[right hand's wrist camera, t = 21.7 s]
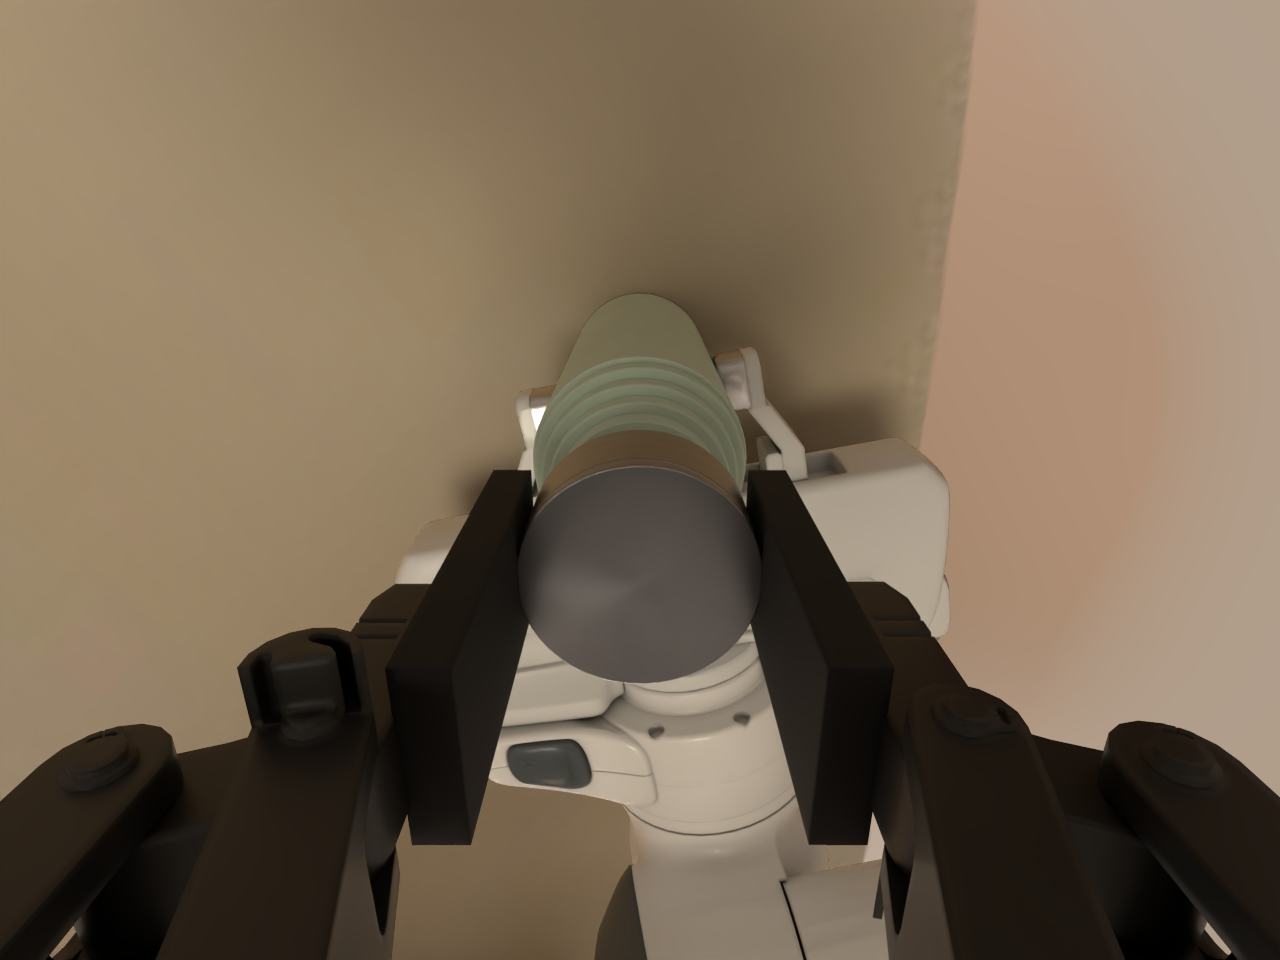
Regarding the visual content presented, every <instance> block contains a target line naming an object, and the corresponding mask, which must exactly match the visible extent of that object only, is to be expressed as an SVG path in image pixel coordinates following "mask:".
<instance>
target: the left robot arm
mask: <svg viewBox="0 0 1280 960" xmlns="http://www.w3.org/2000/svg"><path fill="white" fill-rule="evenodd" d="M712 361H713V364H714V366H715V368H716V371H717V373H718V375H719V377H720V379H721V381H722V384H723V386H724V388H725V390H726V392H727V394H728V397H729V399H730V401H731V403H732V405H733V407H734V410H735V411H736V410H743V409H747V410H748V411H749V413H750V414H751V415H752V416H753V417H754V419H755V420H756V421H757V422H758V423H759V425H760V426H761V427H762V428H763V429H764V431H765V432H766V433H767V434H768V435H764V436H759V437H758V438H757V439H756V442H757V449H758V457H759V462H755V463H749V464H746V471H745V476H744V482H743V486H742V490H741V495H742V497H743V500H744V503H745V506H746V499H747V482H748V470H786V471H787V473H788V475H789V477H790V479H791V480H792V482H793V484H794V486H795V488H796V490H797V491H798V493H799V495H800V497H801V499H802V501H803V502H804V504H805V506H806V508H807V510H808V511H809V513H810V515H811V517H812V519H813V521H814V522H815V524H816V526H817V528H818V530H819V531H820V533H821V535H822V537H823V539H824V541H825V542H826V544H827V546H828V548H829V550H830V551H831V553H832V555H833V557H834V559H835V561H836V562H837V564H838V566H839V568H840V570H841V571H842V573H843V575H844V577H845V579H846V581H847V582H885V583H887V584H888V585H890V586H891V587H893V588H894V589H896V590H897V591H899V592H900V593H901V594H903V595H904V596H906V597H907V598H908V599H909V600H910V602H911V603H912V605H913V606H914V608H915V609H916V611H917V612H918V614H919V615H920V617H921V621H924V622H925V624H926V625H927V627H928V628H929V630H930V631H931V636H932V637H935V639H936V640H938V639H939V638H940V637H941V636H943V635H944V634H946V632H947V630H948V628H949V624H950V600H949V586H948V582H947V579H946V576H945V575H944V570H945V563H946V554H947V545H948V532H949V508H950V497H949V487H948V484H947V481H946V479H945V478H944V476H943V474H942V473H941V472H940V470H939V469H938V468H937V467H936V466H935V465H934V464H933V463H932V462H931V461H930V460H929V459H928V458H927V457H926V456H925V455H923V454H922V453H921V452H919V451H918V450H917V449H915V448H914V447H912V446H911V445H909V444H908V443H906V442H905V441H903V440H901V439H898V438H887V439H881V440H876V441H870V442H865V443H859V444H854V445H848V446H843V447H837V448H832V449H826V450H821V451H815V452H810V453H805V449H804V446H803V445H802V443H801V442H800V440H799V439H798V437H797V436H796V434H795V433H794V431H793V430H792V429H791V427H790V426H789V425H788V424H787V423H786V421H785V420H784V419H783V418H782V417H781V415H780V414H779V413H778V412H777V410H776V409H775V408H774V407H773V406H772V404H771V403H770V402H769V401H768V400H767V398H766V397H765V394H764V387H763V380H762V372H761V365H760V361H759V357H758V353H757V351H756V350H755V349H754V348H753V346H752V347H747V348H742V349H736V350H731V351H726V352H722V353H717V354H712ZM555 387H556V385H552V386H546V387H540V388H535V389H528V390H524V391H520V392H519V394H518V396H517V397H516V412H517V416H518V420H519V424H520V427H521V431H522V435H523V439H524V442H525V448H524V450H523V453H522V457H521V460H520V463H519V467H518V470H531V473H532V490H533V507H534V504H535V501H536V498H537V496H538V493H539V492H538V489H537V484H536V478H535V473H534V467H533V449H534V440H535V436H536V432H537V428H538V425H539V423H540V420H541V418H542V415H543V413H544V411H545V409H546V406H547V404H548V402H549V400H550V398H551V396H552V393H553V391H554V389H555ZM468 516H469V514H468V515H463V516H457V517H452V518H446V519H440V520H436V521H432V522H430V523H428V524H427V525H425V526H424V527H423V528H422V530H421V531H420V532H419V534H418V535H417V536H416V538H415V539H414V541H413V542H412V543H411V545H410V546H409V548H408V550H407V551H406V553H405V555H404V557H403V559H402V561H401V563H400V565H399V568H398V571H397V574H396V580H395V584H431V583H432V582H433V580H434V578H435V576H436V574H437V572H438V571H439V569H440V567H441V565H442V563H443V562H444V560H445V558H446V556H447V554H448V552H449V551H450V549H451V547H452V545H453V543H454V541H455V540H456V538H457V536H458V534H459V532H460V531H461V529H462V527H463V525H464V523H465V521H466V520H467V518H468ZM489 779H490V780H492V781H494V782H496V783H499V784H503V785H509V786H518V787H529V788H539V789H548V790H556V791H564V792H570V793H577V794H583V795H588V796H593V797H597V798H602V799H606V800H610V801H614V802H617V803H621V804H622V805H623V807H624V808H625V810H626V811H627V813H628V815H629V817H630V819H631V821H630V830H629V843H630V850H631V856H632V861H633V866H631V865H629V867H628V868H627V869H626V871H625V872H624V874H623V875H622V877H621V879H620V881H619V883H618V885H617V887H616V889H615V891H614V893H613V896H612V898H611V901H610V903H609V905H608V908H607V910H606V913H605V915H604V918H603V920H602V923H601V925H600V928H599V932H598V937H597V944H596V951H595V960H889V956H888V946H887V937H886V927H885V917H884V911H883V916H882V920H881V919H876V918H873V911H874V905H875V898H876V892H877V886H878V880H879V874H880V868H881V862H882V859H879V860H874V861H869V862H864V863H859V864H854V865H849V866H844V867H839V868H834V869H829V865H828V852H827V845H809V844H808V840H807V837H806V833H805V829H804V825H803V821H802V818H801V814H800V810H799V806H798V802H797V799H796V795H795V791H794V787H793V783H792V780H791V776H790V772H789V768H788V764H787V761H786V757H785V753H784V749H783V745H782V742H781V738H780V734H779V730H778V726H777V723H776V719H775V715H774V711H773V707H772V704H771V700H770V696H769V692H768V688H767V685H766V681H765V677H764V673H763V669H762V666H761V662H760V658H759V654H758V651H757V647H756V643H755V639H754V635H753V632H752V628H751V624H750V625H749V626H748V628H747V630H746V631H745V633H744V634H743V635H742V637H741V638H740V639H739V640H738V642H737V643H736V644H735V645H734V646H733V647H732V648H731V649H730V650H729V651H728V652H726V653H725V654H724V655H723V656H721V657H720V658H719V659H718V660H716V661H715V662H713V663H711V664H710V665H708V666H707V667H705V668H703V669H701V670H699V671H697V672H694V673H692V674H690V675H687V676H684V677H681V678H678V679H674V680H670V681H665V682H659V683H649V684H629V683H621V682H614V681H610V680H605V679H601V678H598V677H595V676H592V675H590V674H587V673H585V672H583V671H581V670H579V669H577V668H574V667H573V666H571V665H570V664H568V663H566V662H565V661H563V660H562V659H560V658H559V657H558V656H557V655H555V654H554V653H553V652H552V651H551V650H549V648H548V647H547V646H546V645H545V644H544V643H543V642H542V641H541V640H540V639H539V637H538V636H537V635H536V633H535V632H534V631H533V629H532V628H531V626H530V624H529V626H528V630H527V634H526V637H525V641H524V645H523V649H522V653H521V656H520V660H519V664H518V668H517V672H516V675H515V679H514V683H513V687H512V691H511V694H510V698H509V702H508V706H507V710H506V713H505V717H504V721H503V725H502V729H501V732H500V736H499V740H498V744H497V748H496V751H495V755H494V759H493V763H492V767H491V770H490V774H489Z"/></svg>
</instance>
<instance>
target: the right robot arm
mask: <svg viewBox="0 0 1280 960" xmlns="http://www.w3.org/2000/svg"><path fill="white" fill-rule="evenodd" d="M746 508H747V511H748V514H749V517H750V520H751V523H752V526H753V528H754V531H755V534H756V537H757V540H758V543H759V546H760V550H761V554H762V575H761V589H760V602H759V605H758V608H757V610H756V613H755V616H754V618H753V619H752V621H751V623H750V624H751V628H752V632H753V635H754V639H755V643H756V647H757V651H758V654H759V658H760V662H761V666H762V669H763V673H764V677H765V681H766V685H767V688H768V692H769V696H770V700H771V704H772V707H773V711H774V715H775V719H776V723H777V726H778V730H779V734H780V738H781V742H782V745H783V749H784V753H785V757H786V761H787V764H788V768H789V772H790V776H791V780H792V783H793V787H794V791H795V795H796V799H797V802H798V806H799V810H800V814H801V818H802V821H803V825H804V829H805V833H806V837H807V840H808V844H809V845H867V844H868V838H869V831H870V825H871V818H872V812H873V814H874V816H875V819H876V821H877V824H878V826H879V829H880V832H881V834H882V837H883V840H884V842H885V844H884V851H883V857H882V862H881V868H880V874H879V880H878V886H877V892H876V898H875V905H874V911H873V918H876V919H881V920H882V916H883V911H884V917H885V927H886V937H887V946H888V956H889V960H1280V797H1279V796H1278V795H1277V794H1276V793H1274V792H1273V791H1272V790H1271V789H1270V788H1269V787H1268V786H1267V785H1266V784H1264V783H1263V782H1262V781H1261V780H1260V779H1259V778H1258V777H1257V776H1256V775H1255V774H1253V773H1252V772H1251V771H1250V770H1249V769H1248V768H1247V767H1246V766H1245V765H1243V764H1242V763H1241V762H1240V761H1239V760H1237V759H1236V758H1235V757H1233V756H1232V755H1230V754H1229V753H1228V752H1226V751H1225V750H1224V749H1222V748H1221V747H1219V746H1218V745H1216V744H1214V743H1212V742H1210V741H1208V740H1206V739H1204V738H1202V737H1200V736H1198V735H1196V734H1194V733H1192V732H1190V731H1187V730H1184V729H1181V728H1176V727H1175V726H1170V725H1166V724H1163V723H1154V722H1145V721H1134V722H1128V723H1122V724H1119V725H1118V726H1116V727H1115V728H1114V729H1113V730H1112V731H1110V732H1109V734H1108V737H1107V741H1106V744H1105V748H1104V751H1101V750H1096V749H1092V748H1087V747H1082V746H1077V745H1073V744H1068V743H1063V742H1059V741H1054V740H1050V739H1046V738H1043V737H1039V736H1036V735H1032V734H1031V732H1030V730H1029V728H1028V726H1027V725H1026V723H1025V722H1024V720H1023V719H1022V717H1021V716H1020V715H1019V713H1018V712H1017V711H1016V710H1014V709H1013V708H1012V707H1010V706H1009V705H1008V704H1006V703H1005V702H1004V701H1002V700H1001V699H999V698H997V697H995V696H993V695H991V694H988V693H986V692H984V691H982V690H980V689H976V688H972V687H968V686H967V684H966V683H965V681H964V680H963V678H962V677H961V675H960V674H959V672H958V671H957V670H956V668H955V667H954V665H953V664H952V662H951V661H950V659H949V658H948V656H947V655H946V653H945V652H944V650H943V649H942V647H941V646H940V645H939V643H938V642H937V640H936V639H935V637H932V636H931V631H930V630H929V628H928V627H927V625H926V624H925V622H924V621H921V617H920V615H919V614H918V612H917V611H916V609H915V608H914V606H913V605H912V603H911V602H910V600H909V599H908V598H907V597H906V596H904V595H903V594H901V593H900V592H899V591H897V590H896V589H894V588H893V587H891V586H890V585H888V584H887V583H885V582H847V581H846V579H845V577H844V575H843V573H842V571H841V570H840V568H839V566H838V564H837V562H836V561H835V559H834V557H833V555H832V553H831V551H830V550H829V548H828V546H827V544H826V542H825V541H824V539H823V537H822V535H821V533H820V531H819V530H818V528H817V526H816V524H815V522H814V521H813V519H812V517H811V515H810V513H809V511H808V510H807V508H806V506H805V504H804V502H803V501H802V499H801V497H800V495H799V493H798V491H797V490H796V488H795V486H794V484H793V482H792V480H791V479H790V477H789V475H788V473H787V471H786V470H748V482H747V499H746ZM532 509H533V490H532V473H531V470H494V471H493V472H492V474H491V476H490V478H489V480H488V481H487V483H486V485H485V487H484V489H483V491H482V492H481V494H480V496H479V498H478V500H477V501H476V503H475V505H474V507H473V509H472V511H471V512H470V514H469V516H468V518H467V520H466V521H465V523H464V525H463V527H462V529H461V531H460V532H459V534H458V536H457V538H456V540H455V541H454V543H453V545H452V547H451V549H450V551H449V552H448V554H447V556H446V558H445V560H444V562H443V563H442V565H441V567H440V569H439V571H438V572H437V574H436V576H435V578H434V580H433V582H432V583H431V584H395V585H393V586H392V587H390V588H389V589H388V590H386V591H385V592H383V593H382V594H380V595H379V596H377V597H376V598H375V599H373V600H372V601H371V603H370V604H369V606H368V607H367V609H366V610H365V611H364V613H363V614H362V616H361V617H360V619H359V623H356V625H355V626H354V628H353V629H352V631H351V632H349V631H345V630H341V629H337V628H311V629H306V630H301V631H296V632H291V633H288V634H285V635H283V636H280V637H278V638H275V639H273V640H270V641H268V642H266V643H264V644H263V645H261V646H260V647H258V648H257V649H255V650H254V651H252V652H251V653H249V654H248V655H247V656H246V658H245V659H244V660H243V661H242V662H241V664H240V665H239V666H238V667H237V669H238V673H239V677H240V682H241V686H242V690H243V694H244V698H245V702H246V706H247V710H248V714H249V718H250V722H251V726H252V729H251V731H250V734H249V736H248V738H244V739H241V740H237V741H233V742H230V743H226V744H221V745H216V746H212V747H207V748H203V749H198V750H193V751H189V752H184V753H179V754H177V753H176V750H175V746H174V743H173V740H172V736H171V735H170V734H169V733H167V732H166V731H165V730H164V729H163V728H161V727H157V726H152V725H146V724H137V725H127V726H118V727H115V728H111V729H107V730H105V731H100V732H97V733H94V734H91V735H89V736H87V737H85V738H83V739H81V740H79V741H77V742H75V743H73V744H71V745H69V746H67V747H65V748H63V749H61V750H60V751H59V752H57V753H56V754H55V755H53V756H52V757H51V758H49V759H48V760H46V761H45V762H44V763H42V764H41V765H40V766H39V767H38V768H36V769H35V770H34V771H33V772H32V773H31V774H30V775H29V776H28V777H27V778H25V779H24V780H23V781H22V782H21V783H20V784H19V785H18V786H17V787H16V788H15V789H13V790H12V791H11V792H10V793H9V794H8V795H7V796H6V797H5V798H4V799H2V800H1V801H0V960H391V958H392V948H393V938H394V929H395V919H396V909H397V900H398V890H399V880H400V870H399V863H398V856H397V850H396V842H397V839H398V837H399V834H400V832H401V829H402V826H403V824H404V821H405V818H406V816H407V815H408V821H409V828H410V834H411V841H412V845H471V842H472V839H473V835H474V831H475V827H476V823H477V820H478V816H479V812H480V808H481V804H482V801H483V797H484V793H485V789H486V785H487V782H488V778H489V774H490V770H491V767H492V763H493V759H494V755H495V751H496V748H497V744H498V740H499V736H500V732H501V729H502V725H503V721H504V717H505V713H506V710H507V706H508V702H509V698H510V694H511V691H512V687H513V683H514V679H515V675H516V672H517V668H518V664H519V660H520V656H521V653H522V649H523V645H524V641H525V637H526V634H527V630H528V626H529V622H528V620H527V619H526V617H525V615H524V612H523V610H522V607H521V604H520V595H519V581H518V566H517V555H518V551H519V547H520V543H521V540H522V538H523V535H524V532H525V529H526V526H527V523H528V521H529V518H530V515H531V512H532ZM1207 922H1208V923H1209V924H1210V926H1211V927H1212V928H1213V929H1214V930H1215V932H1216V933H1217V934H1218V935H1219V937H1220V938H1221V939H1222V940H1223V942H1224V943H1225V944H1226V945H1227V947H1228V948H1229V949H1230V950H1231V951H1232V952H1231V954H1230V955H1227V954H1226V953H1225V952H1224V951H1223V950H1222V949H1221V948H1220V947H1219V946H1218V945H1217V944H1216V943H1215V942H1214V941H1213V939H1212V938H1211V937H1210V936H1209V934H1208V933H1207V932H1206V931H1205V926H1206V924H1207ZM73 925H74V928H75V930H76V933H75V934H74V935H73V937H72V938H71V939H70V940H69V942H68V943H67V944H66V946H65V947H64V948H63V949H61V950H60V951H59V952H58V953H57V954H56V955H55V956H54V957H53V958H51V957H50V956H49V955H50V954H51V952H52V951H53V950H54V949H55V947H56V946H57V945H58V944H59V943H60V941H61V940H62V939H63V938H64V936H65V935H66V934H67V933H68V931H69V930H70V929H71V928H72V926H73Z"/></svg>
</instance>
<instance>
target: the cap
mask: <svg viewBox="0 0 1280 960" xmlns="http://www.w3.org/2000/svg"><path fill="white" fill-rule="evenodd" d="M517 566H518V581H519V595H520V604H521V607H522V610H523V612H524V615H525V617H526V619H527V620H528V622H529V624H530V626H531V628H532V629H533V631H534V632H535V633H536V635H537V636H538V637H539V639H540V640H541V641H542V642H543V643H544V644H545V645H546V646H547V647H548V648H549V650H551V651H552V652H553V653H554V654H555V655H557V656H558V657H559V658H560V659H562V660H563V661H565V662H566V663H568V664H570V665H571V666H573V667H574V668H577V669H579V670H581V671H583V672H585V673H587V674H590V675H592V676H595V677H598V678H601V679H605V680H610V681H614V682H621V683H629V684H649V683H659V682H665V681H670V680H674V679H678V678H681V677H684V676H687V675H690V674H692V673H694V672H697V671H699V670H701V669H703V668H705V667H707V666H708V665H710V664H711V663H713V662H715V661H716V660H718V659H719V658H720V657H721V656H723V655H724V654H725V653H726V652H728V651H729V650H730V649H731V648H732V647H733V646H734V645H735V644H736V643H737V642H738V640H739V639H740V638H741V637H742V635H743V634H744V633H745V631H746V630H747V628H748V626H749V625H750V623H751V621H752V619H753V618H754V616H755V613H756V610H757V608H758V605H759V602H760V589H761V575H762V554H761V550H760V546H759V543H758V540H757V537H756V534H755V531H754V528H753V526H752V523H751V520H750V517H749V514H748V511H747V508H746V506H745V503H744V500H743V497H742V495H741V492H740V490H739V488H738V486H737V484H736V482H735V481H734V479H733V477H732V476H731V475H730V473H729V472H728V471H727V469H726V468H725V467H724V466H723V465H722V464H721V463H720V462H719V461H718V460H717V459H716V458H715V457H714V456H713V455H711V454H710V453H709V452H707V451H706V450H705V449H704V448H702V447H700V446H698V445H697V444H695V443H693V442H691V441H689V440H686V439H684V438H682V437H679V436H676V435H673V434H669V433H665V432H660V431H652V430H628V431H619V432H615V433H611V434H607V435H603V436H601V437H598V438H595V439H593V440H590V441H588V442H587V443H585V444H583V445H581V446H579V447H577V448H576V449H575V450H573V451H572V452H571V453H569V454H568V455H566V456H565V457H564V458H563V459H562V460H561V461H560V462H559V463H558V464H557V465H556V466H555V467H554V469H553V470H552V471H551V472H550V474H549V475H548V476H547V478H546V480H545V481H544V483H543V485H542V487H541V488H540V491H539V493H538V496H537V498H536V501H535V504H534V507H533V509H532V512H531V515H530V518H529V521H528V523H527V526H526V529H525V532H524V535H523V538H522V540H521V543H520V547H519V551H518V555H517Z"/></svg>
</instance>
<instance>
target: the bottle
mask: <svg viewBox="0 0 1280 960" xmlns="http://www.w3.org/2000/svg"><path fill="white" fill-rule="evenodd" d="M628 430H652V431H660V432H665V433H669V434H673V435H676V436H679V437H682V438H684V439H686V440H689V441H691V442H693V443H695V444H697V445H698V446H700V447H702V448H704V449H705V450H706V451H707V452H709V453H710V454H711V455H713V456H714V457H715V458H716V459H717V460H718V461H719V462H720V463H721V464H722V465H723V466H724V467H725V468H726V469H727V471H728V472H729V473H730V475H731V476H732V477H733V479H734V481H735V482H736V484H737V486H738V488H739V490H740V492H741V490H742V486H743V482H744V476H745V471H746V459H747V456H746V443H745V438H744V433H743V429H742V427H741V424H740V421H739V418H738V416H737V414H736V412H735V410H734V407H733V405H732V403H731V401H730V399H729V397H728V394H727V392H726V390H725V388H724V386H723V384H722V381H721V379H720V377H719V375H718V373H717V371H716V368H715V366H714V364H713V362H712V360H711V358H710V355H709V353H708V351H707V349H706V347H705V345H704V342H703V340H702V338H701V336H700V334H699V332H698V330H697V328H696V326H695V324H694V323H693V321H692V320H691V318H690V317H689V316H688V315H687V314H686V313H685V312H684V311H683V310H682V309H681V308H680V307H679V306H677V305H676V304H674V303H673V302H671V301H669V300H667V299H665V298H662V297H659V296H656V295H651V294H628V295H624V296H620V297H618V298H615V299H613V300H611V301H609V302H607V303H605V304H604V305H603V306H601V307H600V308H599V309H597V310H596V311H595V312H594V313H593V314H592V315H591V317H590V318H589V319H588V321H587V322H586V324H585V325H584V327H583V329H582V331H581V333H580V335H579V337H578V340H577V342H576V344H575V346H574V348H573V350H572V353H571V355H570V357H569V359H568V361H567V363H566V365H565V368H564V370H563V372H562V374H561V376H560V378H559V381H558V383H557V385H556V387H555V389H554V391H553V393H552V396H551V398H550V400H549V402H548V404H547V406H546V409H545V411H544V413H543V415H542V418H541V420H540V423H539V425H538V428H537V432H536V436H535V440H534V449H533V467H534V473H535V478H536V484H537V489H538V492H539V491H540V488H541V487H542V485H543V483H544V481H545V480H546V478H547V476H548V475H549V474H550V472H551V471H552V470H553V469H554V467H555V466H556V465H557V464H558V463H559V462H560V461H561V460H562V459H563V458H564V457H565V456H566V455H568V454H569V453H571V452H572V451H573V450H575V449H576V448H577V447H579V446H581V445H583V444H585V443H587V442H588V441H590V440H593V439H595V438H598V437H601V436H603V435H607V434H611V433H615V432H619V431H628Z"/></svg>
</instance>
